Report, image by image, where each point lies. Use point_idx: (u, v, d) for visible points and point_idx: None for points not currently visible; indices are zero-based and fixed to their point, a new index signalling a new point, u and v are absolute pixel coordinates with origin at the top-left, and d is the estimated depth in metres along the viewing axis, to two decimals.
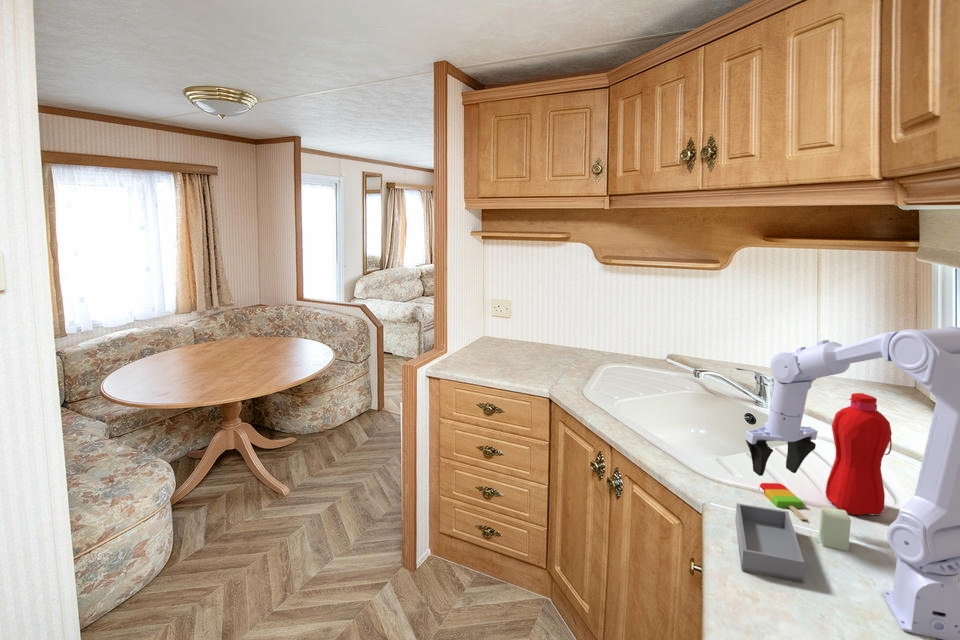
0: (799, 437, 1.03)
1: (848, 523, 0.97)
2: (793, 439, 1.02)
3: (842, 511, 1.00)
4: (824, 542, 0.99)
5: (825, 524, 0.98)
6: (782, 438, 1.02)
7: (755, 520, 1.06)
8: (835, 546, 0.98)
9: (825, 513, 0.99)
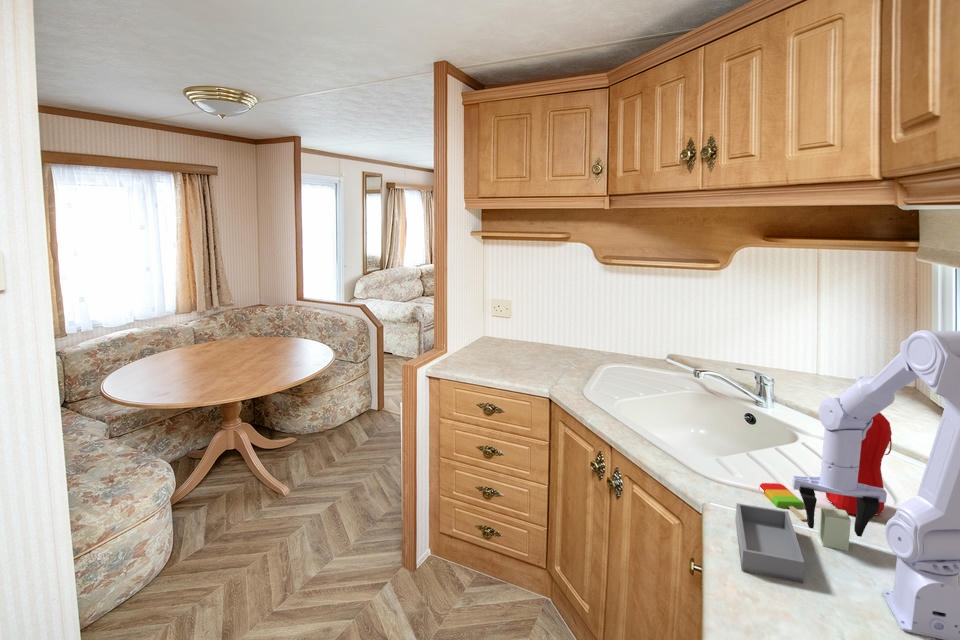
0: (852, 492, 0.95)
1: (848, 523, 0.97)
2: (842, 492, 0.96)
3: (842, 511, 1.00)
4: (824, 542, 0.99)
5: (825, 524, 0.98)
6: (828, 489, 0.97)
7: (755, 520, 1.06)
8: (835, 546, 0.98)
9: (825, 513, 0.99)
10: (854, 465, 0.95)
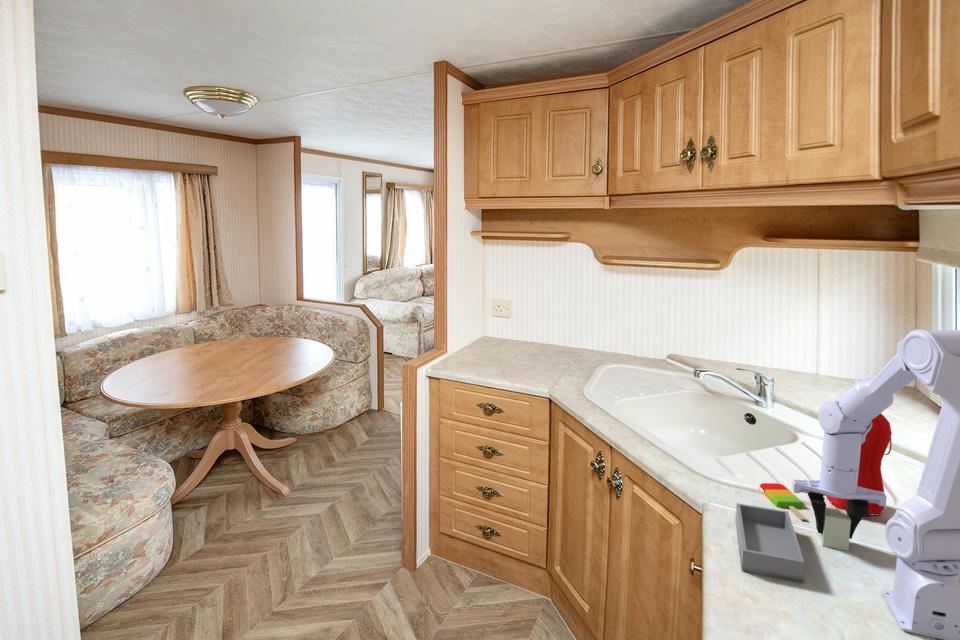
0: (852, 496, 0.95)
1: (848, 523, 0.97)
2: (841, 496, 0.96)
3: (842, 511, 1.00)
4: (824, 542, 0.99)
5: (825, 524, 0.98)
6: (828, 492, 0.97)
7: (755, 520, 1.06)
8: (835, 546, 0.98)
9: (825, 513, 0.99)
10: (854, 469, 0.95)
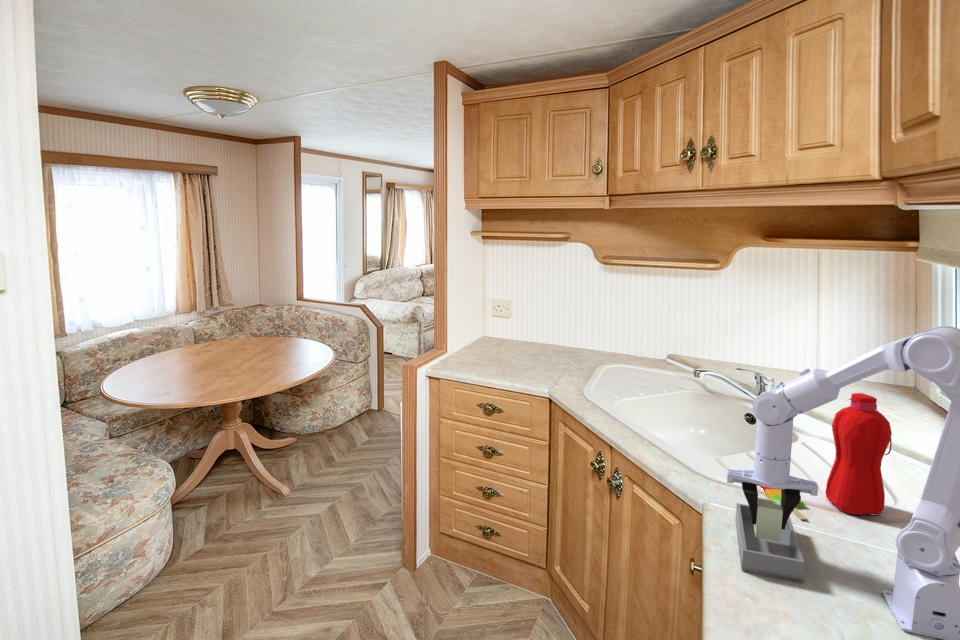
0: (783, 485, 0.93)
1: (780, 514, 0.95)
2: (773, 485, 0.93)
3: (776, 501, 0.98)
4: (757, 533, 0.96)
5: (758, 514, 0.96)
6: (760, 482, 0.95)
7: None
8: (768, 537, 0.96)
9: (758, 503, 0.97)
10: (790, 455, 0.94)
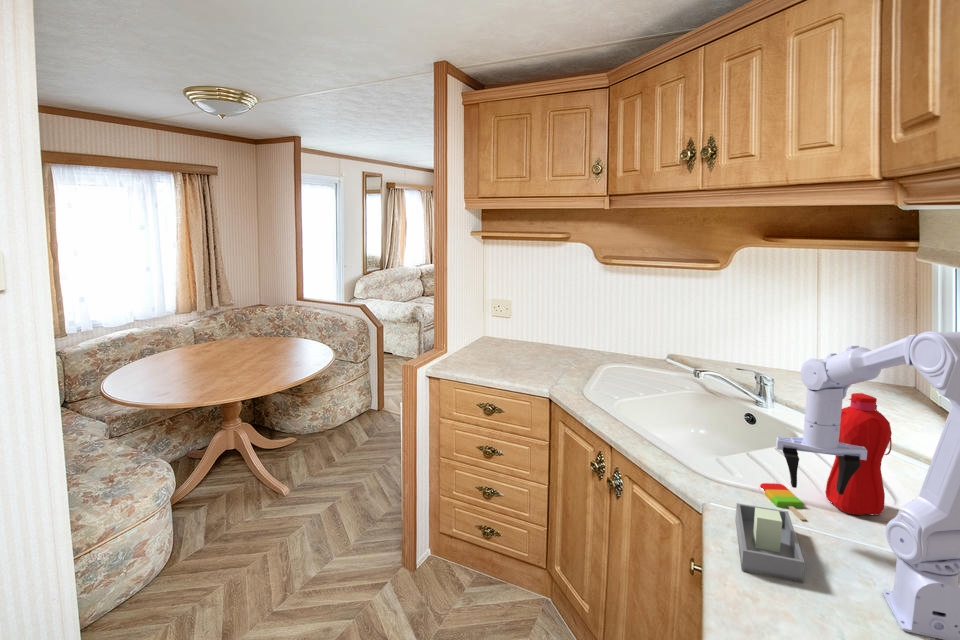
0: (833, 450, 0.97)
1: (780, 525, 0.95)
2: (823, 450, 0.97)
3: (775, 512, 0.98)
4: (756, 544, 0.97)
5: (757, 525, 0.96)
6: (810, 447, 0.99)
7: None
8: (767, 548, 0.96)
9: (758, 514, 0.97)
10: (836, 423, 0.97)
